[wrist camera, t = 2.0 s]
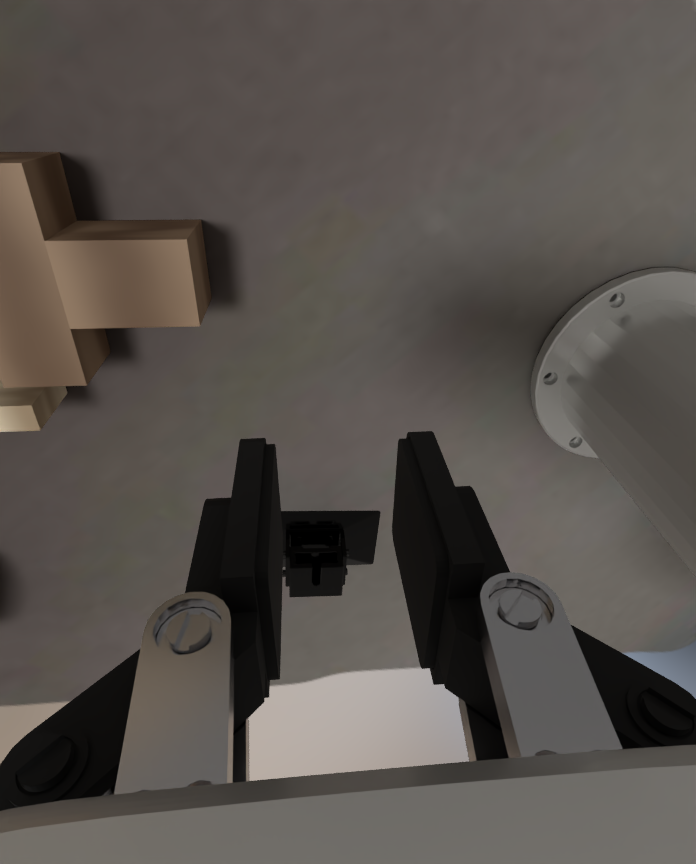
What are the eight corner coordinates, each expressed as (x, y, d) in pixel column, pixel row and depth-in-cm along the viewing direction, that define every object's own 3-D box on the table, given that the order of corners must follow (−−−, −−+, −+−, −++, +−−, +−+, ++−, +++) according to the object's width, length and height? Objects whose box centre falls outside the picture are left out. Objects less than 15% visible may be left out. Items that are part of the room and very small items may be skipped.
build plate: (401, 496, 39) (413, 542, 35) (390, 567, 43) (400, 615, 39) (226, 498, 37) (218, 546, 33) (232, 571, 41) (226, 622, 37)
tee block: (191, 151, 25) (175, 162, 22) (218, 349, 30) (208, 382, 27) (-32, 152, 24) (-85, 163, 21) (37, 353, 30) (3, 387, 26)
